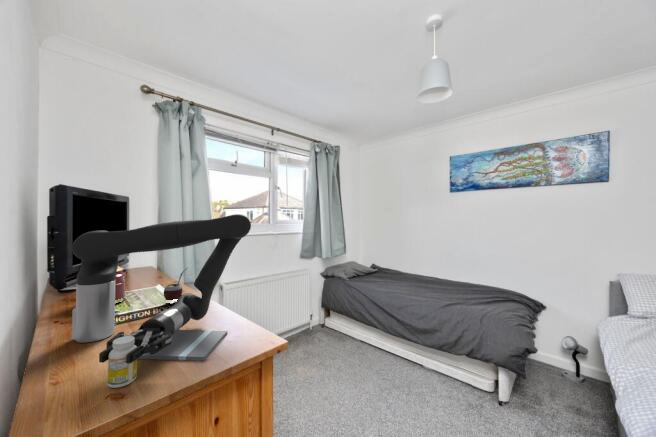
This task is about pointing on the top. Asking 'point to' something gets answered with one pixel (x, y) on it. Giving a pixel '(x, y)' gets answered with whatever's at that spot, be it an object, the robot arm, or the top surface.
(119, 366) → the supplement bottle
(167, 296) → the mate gourd
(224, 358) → the top surface
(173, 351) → the floor panel
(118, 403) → the top surface
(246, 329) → the top surface
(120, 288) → the canister
